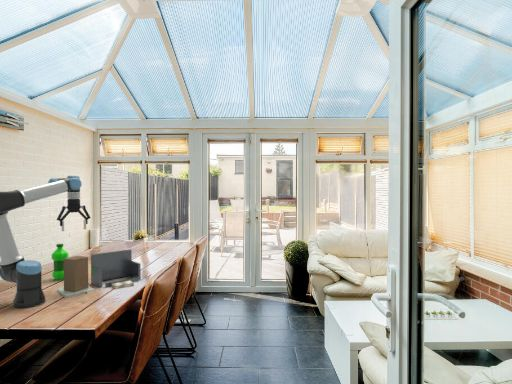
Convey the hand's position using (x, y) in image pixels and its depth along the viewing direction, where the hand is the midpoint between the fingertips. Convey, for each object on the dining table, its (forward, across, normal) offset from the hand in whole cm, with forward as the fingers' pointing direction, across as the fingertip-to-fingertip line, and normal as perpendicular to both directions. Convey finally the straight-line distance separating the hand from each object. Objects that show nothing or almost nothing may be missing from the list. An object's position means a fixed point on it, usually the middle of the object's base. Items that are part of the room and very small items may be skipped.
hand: (74, 230), depth 227 cm
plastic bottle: (+37, -3, +23) cm, 44 cm away
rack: (+37, +22, -17) cm, 46 cm away
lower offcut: (+38, +20, -30) cm, 52 cm away
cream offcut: (+36, +20, -30) cm, 51 cm away
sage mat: (+37, -4, -17) cm, 41 cm away
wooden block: (+36, -4, -17) cm, 40 cm away
